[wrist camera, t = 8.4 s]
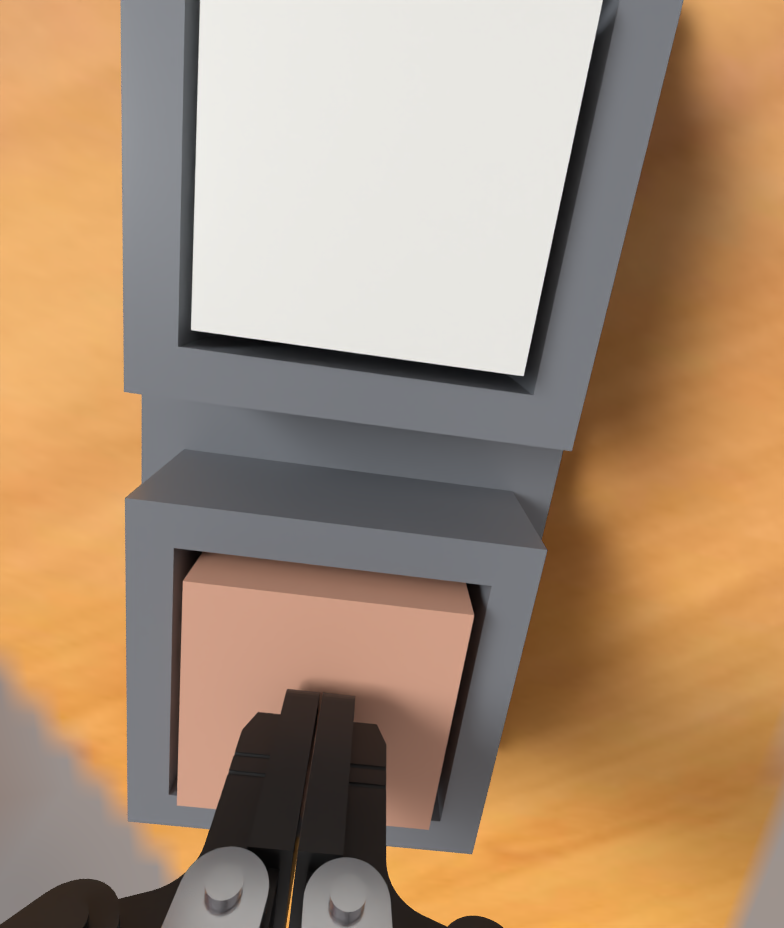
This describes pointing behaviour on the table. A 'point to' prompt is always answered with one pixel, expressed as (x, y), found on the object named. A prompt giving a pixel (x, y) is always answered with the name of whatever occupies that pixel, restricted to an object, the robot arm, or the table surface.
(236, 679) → the terracotta key
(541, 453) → the key console
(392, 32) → the off-white key
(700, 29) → the table surface
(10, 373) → the table surface
